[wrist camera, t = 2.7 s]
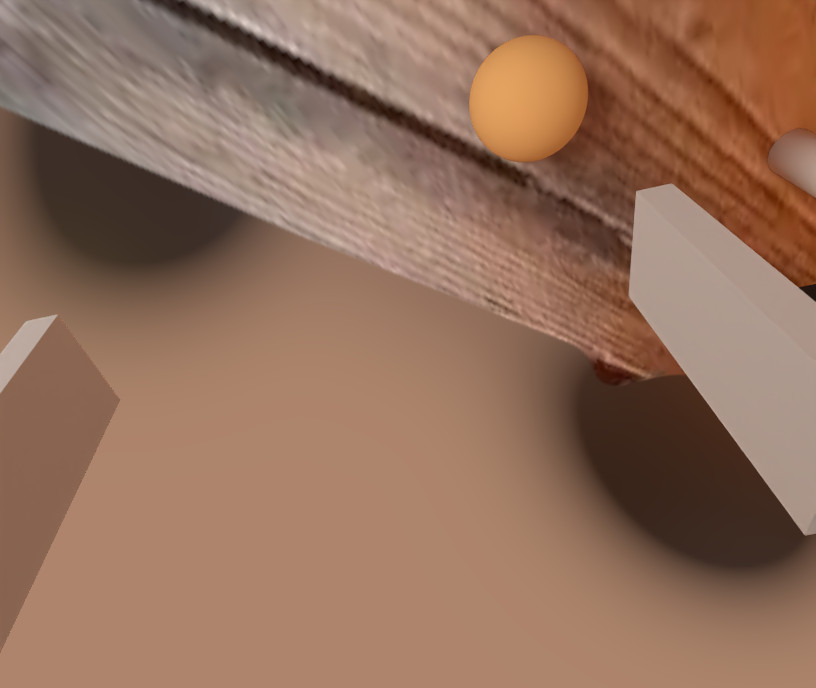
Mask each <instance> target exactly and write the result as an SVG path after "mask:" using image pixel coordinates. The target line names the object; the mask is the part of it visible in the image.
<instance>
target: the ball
mask: <svg viewBox="0 0 816 688" xmlns="http://www.w3.org/2000/svg"><path fill="white" fill-rule="evenodd" d="M587 102H588V84H587V78H586V75H585V72H584V69H583V67H582V65H581V63H580V61H579V60H578V58H577V56H576V55H575V54H574V53H573V52H572V51H571V50H570V49H569V48H568V47H567V46H565V45H564V44H563V43H561V42H559V41H557V40H555V39H552V38H549V37H546V36H541V35H528V36H522V37H518V38H514V39H512V40H509V41H507V42H506V43H504V44H502V45H500V46H499V47H498V48H496V49H495V50H494V51H493V52H492V53H491V54H490V55H489V56H488V57H487V58H486V59H485V60H484V62H483V63H482V65H481V66H480V68H479V69H478V71H477V73H476V75H475V78H474V80H473V83H472V87H471V91H470V100H469V110H470V117H471V121H472V124H473V127H474V129H475V132H476V134H477V135H478V137H479V139H480V140H481V141H482V142H483V144H484V145H485V146H486V147H487V148H488V149H489V150H490V151H492V152H493V153H495V154H496V155H498V156H500V157H502V158H504V159H507V160H510V161H516V162H532V161H537V160H541V159H543V158H546V157H548V156H550V155H552V154H554V153H555V152H557V151H558V150H560V149H561V148H562V147H564V146H565V145H566V144H567V143H568V142H569V141H570V140H571V138H572V137H573V136H574V135H575V133H576V132H577V130H578V128H579V127H580V125H581V123H582V120H583V118H584V115H585V112H586V108H587Z"/></svg>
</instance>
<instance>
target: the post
mask: <svg viewBox="0 0 816 688" xmlns="http://www.w3.org/2000/svg"><path fill="white" fill-rule="evenodd" d="M767 162H768V167H769V168H770V170H771V171H773V172H774V173H776V174H778V175H779V176H781V177H782V178H784V179H786V180H787V181H789V182H791V183H792V184H794V185H795V186H797V187H799V188H800V189H802V190H804V191H805V192H807V193H808V194H810V195H812V196H813V197H815V198H816V134H815V133H813V132H811V131H809V130H807V129H795V130H792V131H789V132H787V133H786V134H784V135H783V136H781V137H780V138H779V139H778V140H777V141H776V142H775V143H774V145H773V146H772V148H771V150H770V152H769V154H768V160H767Z"/></svg>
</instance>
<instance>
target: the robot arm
mask: <svg viewBox="0 0 816 688" xmlns="http://www.w3.org/2000/svg"><path fill="white" fill-rule="evenodd" d="M629 297H630V299H631V300H632V301H633V303H634V304H635V305H636V307H637V308H638V310H639V311H640V312H641V314H642V315H643V316H644V318H645V319H646V320H647V322H648V323H649V324H650V326H651V327H652V329H653V330H654V331H655V333H656V334H657V335H658V337H659V338H660V339H661V341H662V342H663V343H664V345H665V346H666V348H667V349H668V350H669V352H670V353H671V354H672V356H673V357H674V358H675V360H676V361H677V362H678V364H679V365H680V367H681V368H682V369H683V371H684V372H685V373H686V375H687V376H688V377H689V379H690V380H691V381H692V383H693V384H694V386H695V387H696V388H697V390H698V391H699V392H700V394H701V395H702V396H703V398H704V399H705V400H706V402H707V403H708V405H710V407H711V408H712V410H713V411H714V413H715V414H716V415H717V417H718V418H719V419H720V421H721V422H722V423H723V425H724V426H725V428H726V429H727V430H728V432H729V433H730V434H731V436H732V437H733V438H734V440H735V441H736V442H737V444H738V445H739V446H740V448H741V449H742V451H743V452H744V453H745V455H746V456H747V457H748V459H749V460H750V461H751V463H752V464H753V466H754V467H755V468H756V470H757V471H758V472H759V474H760V475H761V476H762V478H763V479H764V480H765V482H766V483H767V484H768V486H769V487H770V489H771V490H772V491H773V493H774V494H775V495H776V497H777V498H778V499H779V501H780V502H781V504H782V505H783V506H784V508H785V509H786V510H787V512H788V513H789V514H790V516H791V517H792V518H793V520H794V521H795V522H796V524H797V525H798V526H799V528H800V529H801V530H802V532H803V533H804V535H809V534H815V533H816V284H814V285H809V286H804V287H799V288H798V287H797V286H796V285H795V284H793V283H792V282H791V281H790V280H788V279H787V278H786V277H785V276H784V275H782V274H781V273H780V272H779V271H778V270H776V269H775V268H774V267H773V266H771V265H770V264H769V263H768V262H767V261H765V260H764V259H763V258H762V257H761V256H759V255H758V254H757V253H756V252H755V251H753V250H752V249H751V248H750V247H748V246H747V245H746V244H745V243H744V242H742V241H741V240H740V239H739V238H738V237H736V236H735V235H734V234H733V233H731V232H730V231H729V230H728V229H727V228H725V227H724V226H723V225H722V224H721V223H719V222H718V221H717V220H716V219H715V218H713V217H712V216H711V215H710V214H708V213H707V212H706V211H705V210H704V209H702V208H701V207H700V206H699V205H698V204H696V203H695V202H694V201H693V200H691V199H690V198H689V197H688V196H687V195H685V194H684V193H683V192H682V191H681V190H679V189H678V188H677V187H676V186H675V185H673V184H667V185H662V186H658V187H653V188H648V189H644V190H639V191H636V202H635V216H634V230H633V243H632V257H631V271H630V284H629ZM119 401H120V399H119V398H118V396H117V395H116V394H115V393H114V391H113V390H112V388H111V387H110V386H109V384H108V383H107V381H106V380H105V379H104V377H103V376H102V375H101V373H100V372H99V370H98V369H97V367H96V366H95V365H94V363H93V362H92V361H91V359H90V358H89V357H88V355H87V354H86V352H85V351H84V350H83V348H82V347H81V345H80V344H79V343H78V342H77V340H76V339H75V337H74V336H73V334H72V333H71V332H70V330H69V329H68V327H67V326H66V325H65V323H64V322H63V321H62V319H61V318H60V316H59V315H53V316H49V317H44V318H40V319H35V320H30V321H26V322H25V323H24V325H23V326H22V327H21V328H20V330H19V331H18V332H17V333H16V335H15V336H14V337H13V339H12V340H11V341H10V342H9V343H8V345H7V346H6V347H5V348H4V350H3V351H2V352H1V353H0V652H1V650H2V648H3V646H4V644H5V641H6V639H7V637H8V635H9V633H10V631H11V629H12V627H13V624H14V622H15V620H16V618H17V616H18V614H19V612H20V610H21V608H22V606H23V603H24V601H25V599H26V597H27V595H28V593H29V590H30V589H31V587H32V584H33V582H34V580H35V578H36V576H37V574H38V572H39V570H40V568H41V566H42V563H43V561H44V559H45V557H46V555H47V553H48V551H49V549H50V547H51V544H52V542H53V540H54V538H55V536H56V534H57V532H58V530H59V527H60V525H61V523H62V521H63V519H64V517H65V515H66V513H67V511H68V509H69V506H70V504H71V502H72V500H73V498H74V496H75V494H76V492H77V490H78V487H79V485H80V483H81V481H82V479H83V477H84V475H85V473H86V471H87V469H88V466H89V464H90V462H91V460H92V458H93V456H94V454H95V452H96V449H97V447H98V445H99V443H100V441H101V439H102V437H103V435H104V433H105V430H106V428H107V426H108V424H109V422H110V420H111V418H112V416H113V414H114V412H115V409H116V407H117V405H118V403H119Z"/></svg>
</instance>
